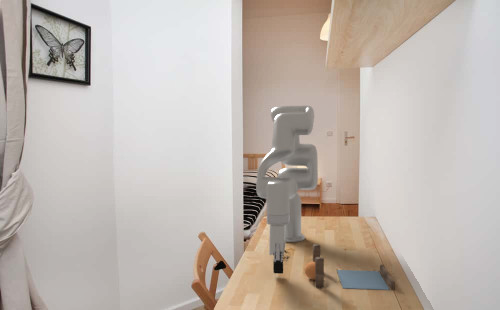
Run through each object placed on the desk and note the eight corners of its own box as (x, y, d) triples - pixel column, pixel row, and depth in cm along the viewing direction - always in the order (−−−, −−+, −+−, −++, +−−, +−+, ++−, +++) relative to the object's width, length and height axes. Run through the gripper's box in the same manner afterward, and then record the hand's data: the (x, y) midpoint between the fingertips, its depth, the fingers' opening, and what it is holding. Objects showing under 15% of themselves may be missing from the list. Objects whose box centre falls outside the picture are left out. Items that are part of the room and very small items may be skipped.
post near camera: (314, 284, 115) (315, 256, 114) (323, 284, 115) (323, 257, 114) (315, 288, 112) (315, 259, 112) (324, 288, 112) (324, 260, 111)
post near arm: (312, 268, 127) (312, 243, 127) (320, 269, 127) (320, 244, 126) (313, 271, 125) (313, 246, 124) (320, 272, 124) (320, 246, 124)
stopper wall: (380, 271, 124) (380, 264, 124) (383, 271, 124) (383, 264, 124) (391, 290, 110) (391, 282, 110) (394, 290, 110) (394, 282, 110)
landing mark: (336, 270, 126) (336, 269, 126) (378, 271, 124) (378, 271, 124) (342, 288, 112) (342, 287, 112) (389, 290, 110) (389, 289, 110)
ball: (318, 277, 122) (302, 274, 122) (321, 261, 122) (305, 258, 122) (321, 283, 116) (304, 280, 116) (324, 266, 116) (307, 263, 116)
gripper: (268, 212, 127) (268, 263, 129) (265, 224, 113) (265, 281, 114) (289, 213, 127) (289, 264, 128) (289, 224, 112) (289, 282, 113)
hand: (278, 272), depth 121 cm, fingers closed
